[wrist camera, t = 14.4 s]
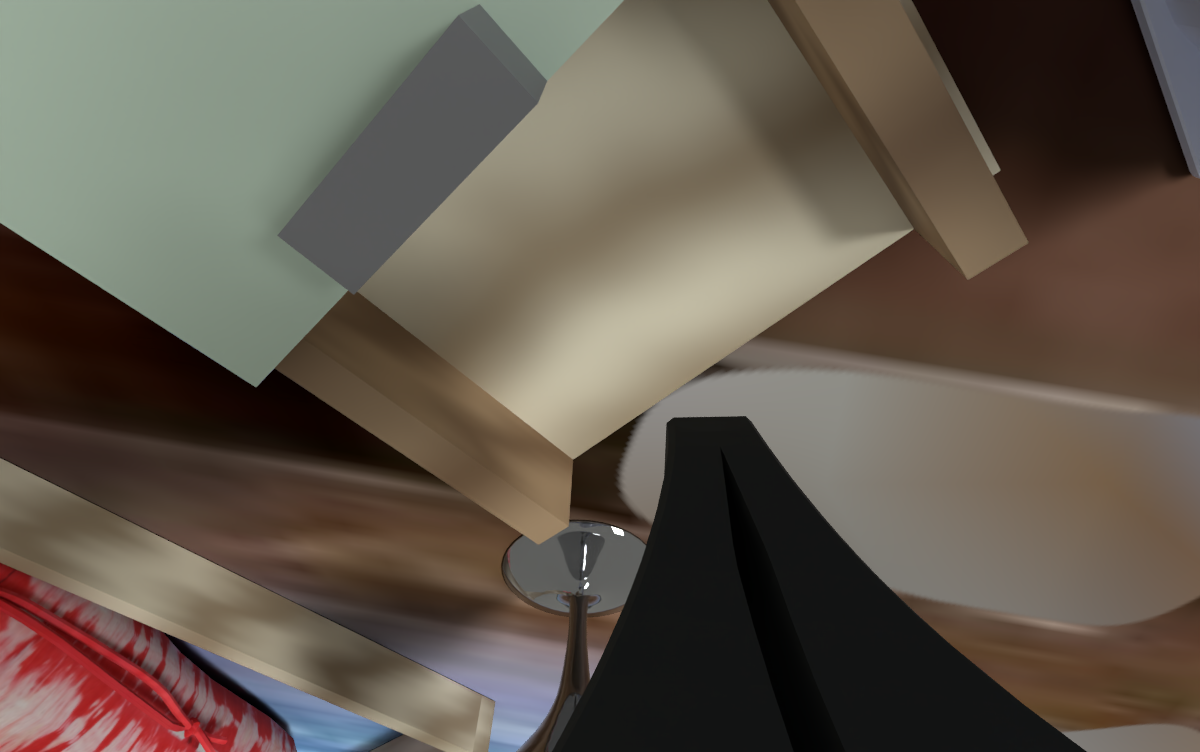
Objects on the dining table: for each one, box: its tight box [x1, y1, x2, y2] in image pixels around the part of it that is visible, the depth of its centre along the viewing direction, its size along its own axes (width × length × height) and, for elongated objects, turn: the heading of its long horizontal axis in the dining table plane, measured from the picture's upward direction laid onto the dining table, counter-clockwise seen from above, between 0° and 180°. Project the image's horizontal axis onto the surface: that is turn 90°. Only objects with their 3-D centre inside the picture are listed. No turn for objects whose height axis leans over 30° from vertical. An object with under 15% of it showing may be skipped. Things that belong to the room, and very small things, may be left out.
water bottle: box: [0, 563, 297, 752], centre depth 28 cm, size 12×8×25 cm
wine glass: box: [502, 520, 646, 752], centre depth 22 cm, size 8×8×15 cm
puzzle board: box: [275, 0, 1028, 545], centre depth 14 cm, size 20×18×4 cm
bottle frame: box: [0, 458, 495, 752], centre depth 31 cm, size 31×18×3 cm, turn 42°
